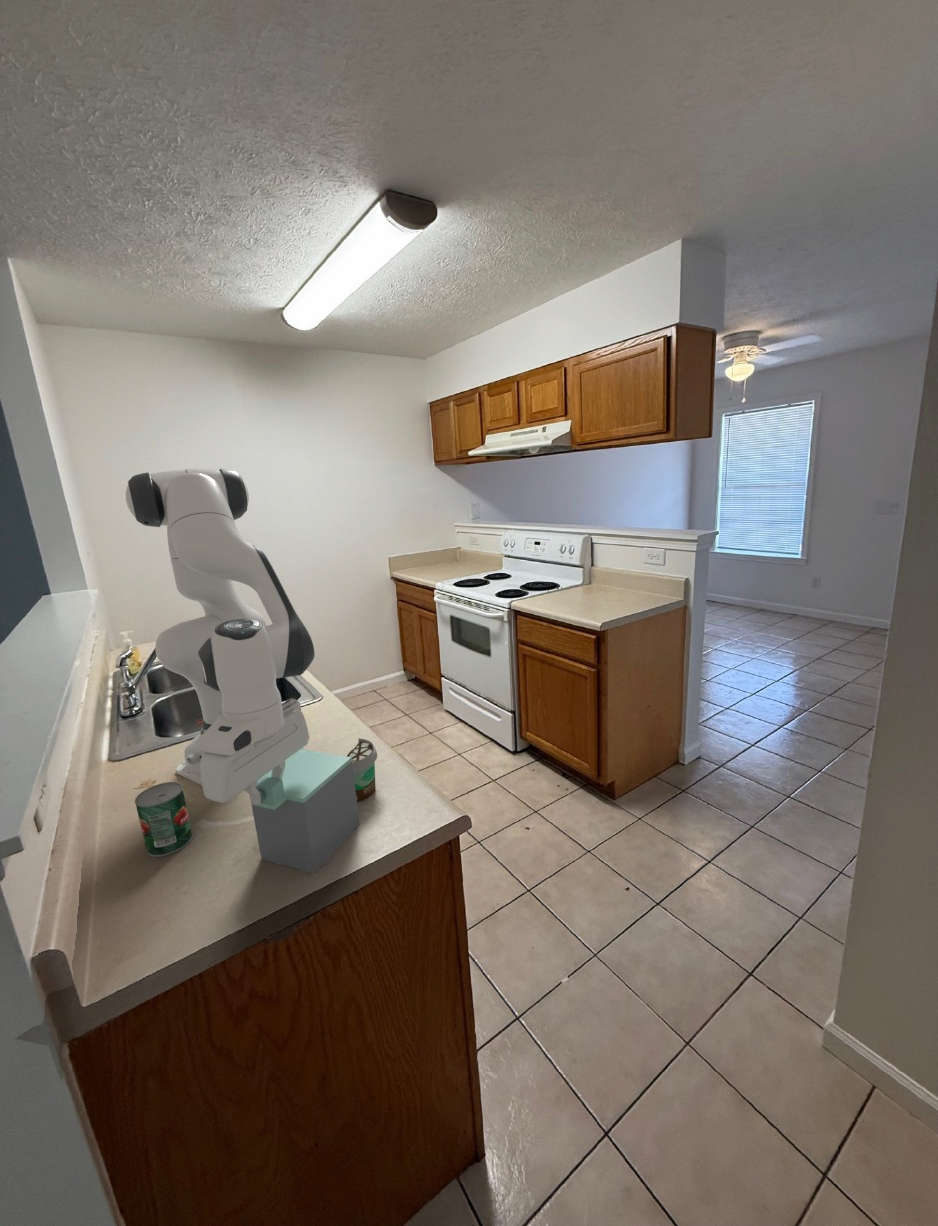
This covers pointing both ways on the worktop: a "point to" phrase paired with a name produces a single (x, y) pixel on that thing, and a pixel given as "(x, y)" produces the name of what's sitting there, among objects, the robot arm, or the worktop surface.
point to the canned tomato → (164, 818)
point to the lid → (300, 777)
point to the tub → (309, 825)
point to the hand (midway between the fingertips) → (267, 794)
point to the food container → (363, 769)
